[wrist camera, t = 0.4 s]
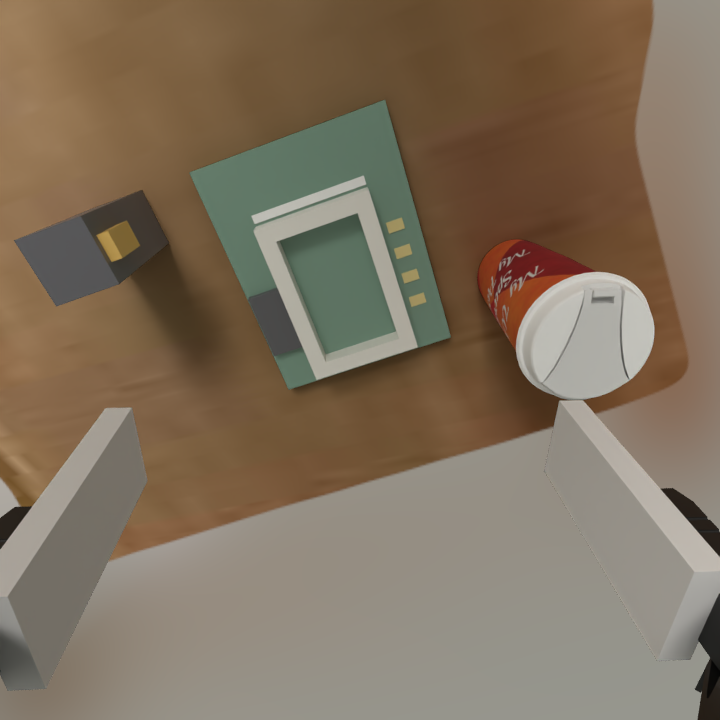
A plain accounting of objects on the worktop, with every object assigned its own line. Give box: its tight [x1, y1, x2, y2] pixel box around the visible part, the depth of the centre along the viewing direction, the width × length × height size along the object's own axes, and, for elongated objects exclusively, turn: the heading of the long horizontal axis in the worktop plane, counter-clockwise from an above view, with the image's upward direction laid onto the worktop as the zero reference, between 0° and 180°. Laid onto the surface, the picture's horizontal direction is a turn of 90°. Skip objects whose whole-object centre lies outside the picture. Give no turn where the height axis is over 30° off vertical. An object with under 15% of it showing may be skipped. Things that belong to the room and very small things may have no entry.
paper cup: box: [477, 239, 654, 400], centre depth 34 cm, size 8×8×14 cm
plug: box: [14, 190, 169, 306], centre depth 33 cm, size 4×5×10 cm
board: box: [190, 100, 451, 389], centre depth 38 cm, size 18×14×3 cm
